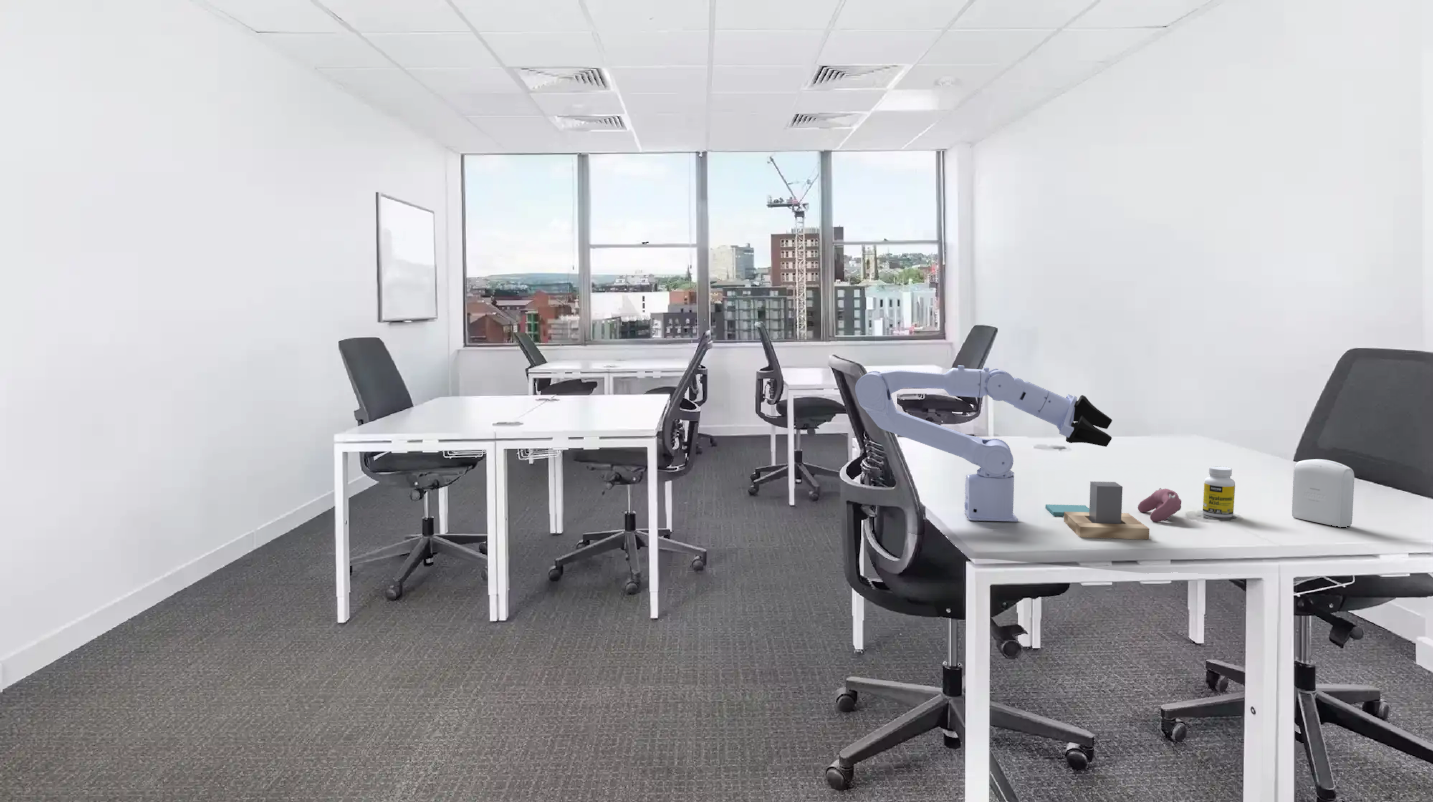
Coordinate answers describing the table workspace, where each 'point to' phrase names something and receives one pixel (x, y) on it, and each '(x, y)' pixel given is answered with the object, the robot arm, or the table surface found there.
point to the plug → (1105, 502)
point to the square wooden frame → (1106, 527)
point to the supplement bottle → (1219, 493)
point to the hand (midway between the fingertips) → (1109, 433)
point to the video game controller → (1161, 504)
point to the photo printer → (1323, 492)
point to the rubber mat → (1065, 509)
